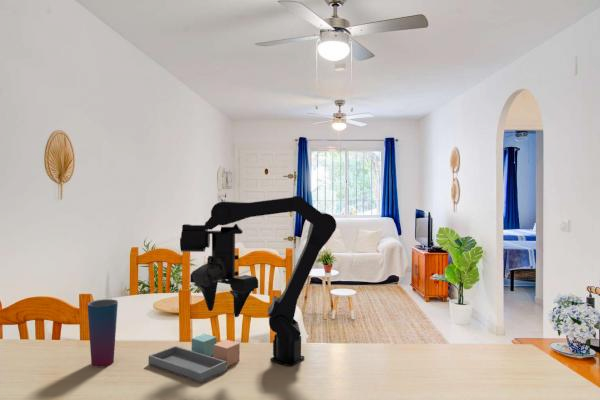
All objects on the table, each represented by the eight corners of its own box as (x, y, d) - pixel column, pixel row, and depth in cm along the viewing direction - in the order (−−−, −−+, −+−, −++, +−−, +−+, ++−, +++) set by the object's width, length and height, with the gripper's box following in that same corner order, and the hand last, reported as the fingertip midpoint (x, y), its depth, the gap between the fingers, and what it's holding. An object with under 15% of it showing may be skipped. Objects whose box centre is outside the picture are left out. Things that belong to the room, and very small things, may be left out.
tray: (226, 370, 105) (226, 361, 105) (200, 383, 98) (200, 373, 98) (175, 354, 115) (175, 345, 115) (148, 364, 108) (148, 355, 108)
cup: (122, 358, 112) (123, 299, 111) (108, 369, 105) (108, 306, 104) (97, 357, 112) (97, 298, 112) (81, 367, 105) (81, 305, 105)
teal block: (216, 354, 116) (216, 337, 116) (203, 359, 112) (203, 341, 112) (204, 350, 118) (204, 333, 118) (191, 355, 114) (191, 338, 114)
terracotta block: (239, 360, 111) (239, 343, 111) (227, 366, 107) (227, 348, 107) (226, 356, 114) (226, 339, 114) (213, 362, 110) (213, 344, 110)
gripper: (173, 251, 109) (173, 314, 109) (226, 259, 98) (226, 328, 98) (207, 247, 118) (207, 305, 118) (259, 253, 107) (259, 317, 107)
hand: (223, 313), depth 110 cm, fingers open, 9 cm apart
